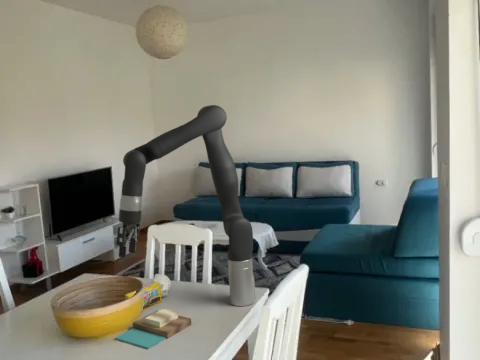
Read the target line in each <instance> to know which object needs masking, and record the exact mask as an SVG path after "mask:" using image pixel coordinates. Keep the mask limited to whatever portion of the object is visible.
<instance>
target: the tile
mask: <svg viewBox="0 0 480 360" xmlns="http://www.w3.org/2000/svg"><path fill="white" fill-rule="evenodd" d="M157 311H158V312H156V313H154V314H152V315H150V316H148V317H146V318H145V324H148V325H152V326H155V327H159V328H161V327H162V326H164V325H166V324H168V323H170V322H171V321H173V320H175V319H177V318H178V316H179V312H178V311H173V310H171V309H165V308H161V309H160V310H157Z"/></svg>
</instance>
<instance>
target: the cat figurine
mask: <svg viewBox="0 0 480 360" xmlns="http://www.w3.org/2000/svg"><path fill="white" fill-rule="evenodd" d="M156 282H159V283H160V285H161V298H163V297H168V292H169V290H170V289H171V288H170V287H171V280H170V278H169V277H168V275H165V274H159V273H155V275H154V277H153V278H152V279H151V283H150V285H151V284H154V283H156Z"/></svg>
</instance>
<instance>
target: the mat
mask: <svg viewBox="0 0 480 360" xmlns="http://www.w3.org/2000/svg"><path fill="white" fill-rule="evenodd" d="M114 339H115V340H116V341H119V342H120V341H121V342H124V343H126V344H130V345H133V346H137V347H141V348H143V349H146V350H149V349H151V348H152V347H154V346H156V345H158V344H159V343H160V342H163V341H165V340H166V339H167V338H166V337H163V336H159V335H156V334H152V333H149V332H145V331H141V330H138V329H134V328H133V327H132V328H131V329H130V330H127V331H125V332H124V333H122V334H120V335H117V336H116V337H115V338H114Z"/></svg>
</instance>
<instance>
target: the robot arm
mask: <svg viewBox="0 0 480 360" xmlns="http://www.w3.org/2000/svg"><path fill="white" fill-rule="evenodd" d="M227 119H228V118H227V112H226V111H225V109H224V108H223V107H221V106H219V105H216V104H211V105H206V106H203V107H202V108H200V109H199V110H198V113H197V116H196V117H194V118H193V119H191V120H189V121H188V122H186V123H184V124H182V125H179V126H177V127H175V128H173V129H169V130H168V131H166V132H162V134H160V135H158V136H156V137H154V138H153V139H150V141H147V142H146V143H144V144H142V145H139V146H137V147H135V148H133V149H131V150H130V151H127V152H126V153H125V155H124V156H123V159H122V163H123V165H124V176H123V177H124V178H123V180H122V185H121V195H120V200H119V212H118V221H119V223H122V227H121V226H118V227H117V235H116V243H115V244H116V246H119V249H118V257H119V258H121V259H123V258H126V257H127V246H128V245H129V246H128V253H132V254H135V252H136V248H137V247H136V246H137V242H138V240H139V239H140V233H141V231H140V229H141V228H140V227H141V222H142V213H143V192H144V191H143V190H144V178H145V174H146V169H147V168H146V167H147V166H146V165H148V164H149V163H152V162H153V161H155V160H160V159H162V158H164V157H165V156H167V155H169V154H171V153H172V152H174V151H177V150H178V149H180V148H181V147H183V146H185V145H186V144H188V143H190V142H191V141H193V140H194V139H197V138H199V137H202V138H203V142H204V145H205V150H206V154H207V160H208V166H209V169H210V173H211V178H212V181H213V186H214V189H215V192H216V196H217V199H218V202H219V206H220V210H221V218H222V224H223V225H222V226H223V231H224V233H225V234H226V236H227V237H228V250H227V253H226V256H227V268H228V269H227V270H228V283H229V298H230V304H231V305H233V306H236V307H246V306H250V305H252V304H254V303H255V301H256V286H255V275H254V269H253V251H254V235H253V233H254V232H253V226H252V223H251V222H250V221H249V220H248V219H247V218H245V217H244V214H243V212H242V209H241V204H240V201H239V188H240V187H239V177H238V172H237V168H236V165H235V161H234V159H233V157H232V155H231V152H230V151H229V149H228V147H227V145H226V143H225V140H224V136H223V130H222V128H224V126H225V125H226V123H227Z"/></svg>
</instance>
